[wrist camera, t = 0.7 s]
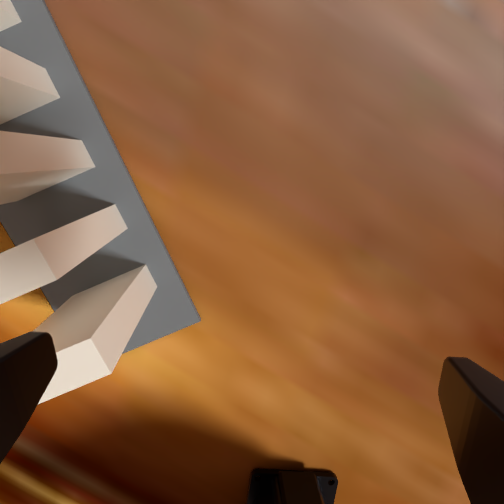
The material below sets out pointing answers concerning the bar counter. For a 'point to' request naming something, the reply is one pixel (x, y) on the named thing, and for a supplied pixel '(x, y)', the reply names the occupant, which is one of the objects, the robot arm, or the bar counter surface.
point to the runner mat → (88, 186)
